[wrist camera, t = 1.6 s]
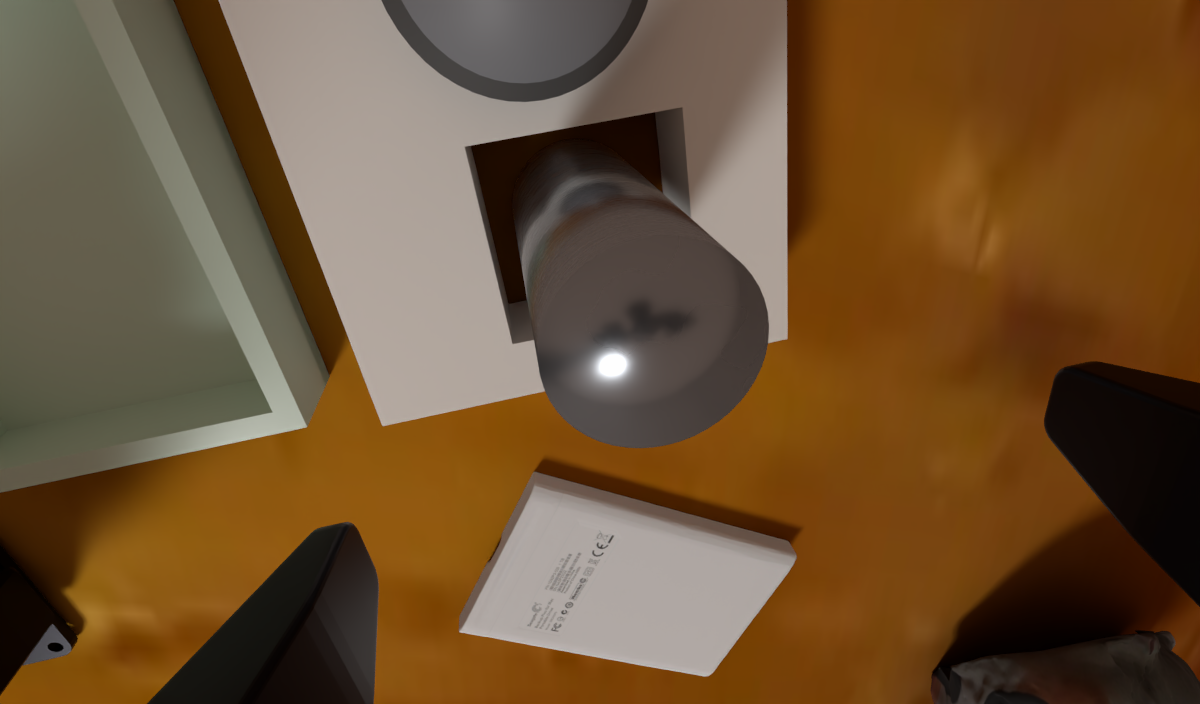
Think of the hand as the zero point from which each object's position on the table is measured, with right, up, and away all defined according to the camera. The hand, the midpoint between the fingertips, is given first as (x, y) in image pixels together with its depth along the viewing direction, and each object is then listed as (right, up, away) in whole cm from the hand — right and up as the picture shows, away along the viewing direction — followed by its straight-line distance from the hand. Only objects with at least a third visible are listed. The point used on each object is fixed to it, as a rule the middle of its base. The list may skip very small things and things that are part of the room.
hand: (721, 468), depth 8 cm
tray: (-16, +5, +9) cm, 19 cm away
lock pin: (-2, +6, +11) cm, 13 cm away
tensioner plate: (-3, +8, +10) cm, 13 cm away
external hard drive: (0, -8, +20) cm, 22 cm away
